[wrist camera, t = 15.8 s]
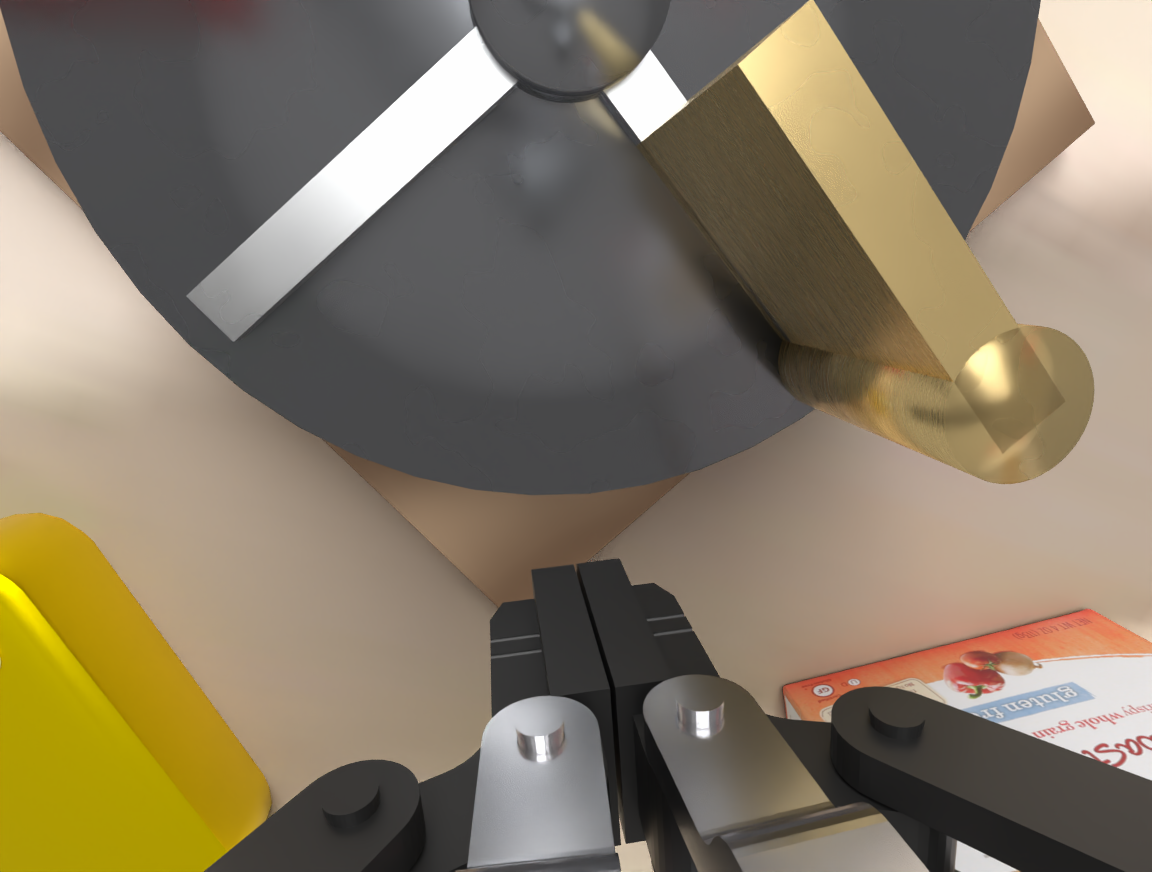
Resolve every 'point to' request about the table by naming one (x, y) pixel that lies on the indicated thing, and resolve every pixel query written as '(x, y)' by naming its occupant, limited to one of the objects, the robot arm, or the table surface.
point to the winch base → (590, 521)
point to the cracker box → (1023, 691)
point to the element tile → (105, 724)
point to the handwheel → (568, 221)
